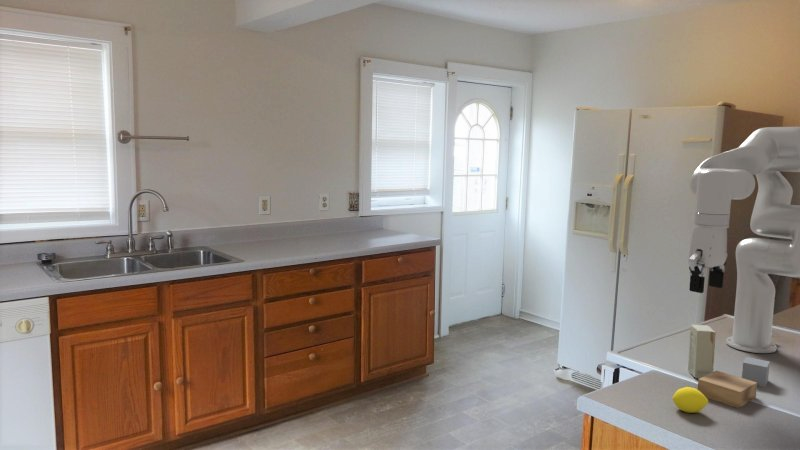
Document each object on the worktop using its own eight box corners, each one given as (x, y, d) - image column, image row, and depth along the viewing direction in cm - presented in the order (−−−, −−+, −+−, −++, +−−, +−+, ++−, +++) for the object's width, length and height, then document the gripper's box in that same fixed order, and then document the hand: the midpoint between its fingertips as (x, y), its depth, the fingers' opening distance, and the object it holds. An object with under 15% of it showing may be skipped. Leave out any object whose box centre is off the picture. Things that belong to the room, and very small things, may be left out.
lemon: (672, 415, 126) (669, 390, 125) (674, 405, 130) (672, 382, 130) (708, 418, 122) (706, 393, 122) (710, 409, 127) (708, 384, 126)
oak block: (715, 386, 141) (716, 370, 140) (755, 399, 134) (757, 382, 133) (697, 395, 135) (698, 379, 135) (738, 409, 128) (740, 392, 128)
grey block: (744, 376, 147) (746, 356, 146) (767, 381, 144) (769, 361, 143) (741, 382, 143) (743, 362, 142) (765, 387, 140) (767, 367, 139)
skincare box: (713, 380, 144) (717, 332, 142) (694, 378, 144) (697, 331, 143) (705, 370, 150) (708, 324, 148) (686, 369, 151) (690, 323, 149)
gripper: (712, 217, 150) (707, 282, 152) (678, 221, 140) (673, 290, 142) (744, 220, 144) (738, 288, 146) (710, 224, 134) (704, 297, 136)
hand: (706, 289), depth 144 cm, fingers open, 9 cm apart
